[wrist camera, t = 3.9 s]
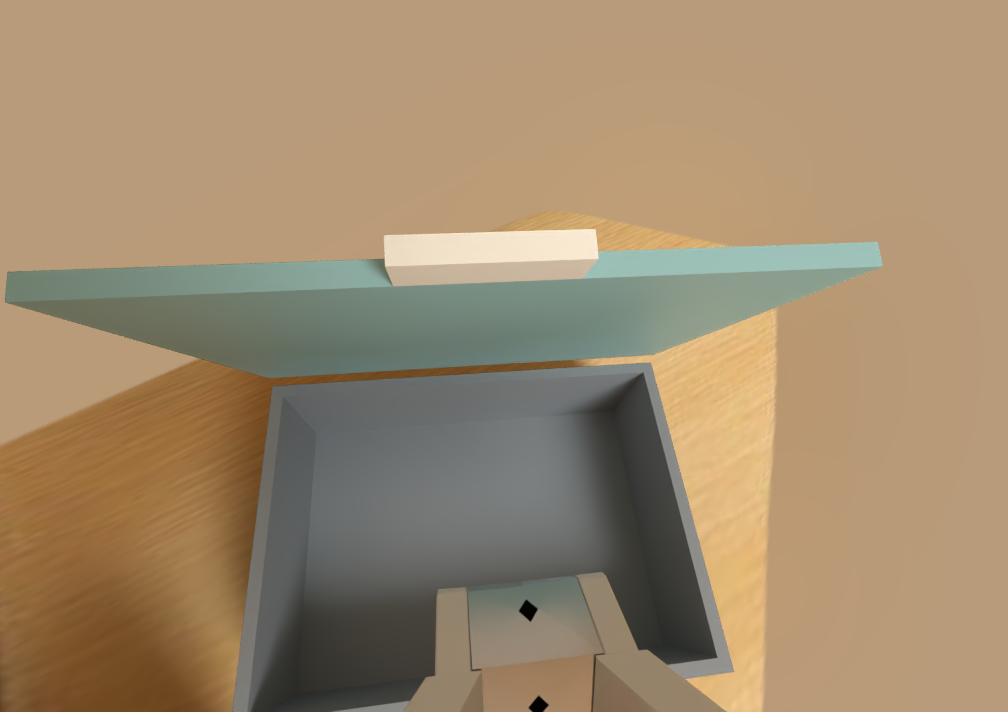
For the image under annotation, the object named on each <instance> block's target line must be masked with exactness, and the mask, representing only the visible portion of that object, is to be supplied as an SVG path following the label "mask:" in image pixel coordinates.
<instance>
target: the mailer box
mask: <svg viewBox="0 0 1008 712" xmlns="http://www.w3.org/2000/svg"><path fill="white" fill-rule="evenodd" d="M596 572H602V573H603V574H605V575H606V577H607V580H608V582H609V584H610V586H611V589H612V591H613V593H614V596H615V598H616V600H617V602H618V605H619V607H620V609H621V611H622V614H623V616H624V618H625V621H626V623H627V625H628V627H629V630H630V632H631V634H632V637H633V639H634V641H635V643H636V646H637V648H638V650H648V651H650V652H651V653H652V654H654V655H655V656H656V657H657V658H659V659H660V660H661V661H662V662H664V663H665V664H666V665H668V666H669V667H670V668H671V669H673V670H674V671H675V672H676V673H678V674H679V675H680V676H682V677H683V678H684V679H688V678H695V677H702V676H709V675H716V674H723V673H730V672H734V669H733V666H732V662H731V658H730V655H729V651H728V647H727V643H726V640H725V636H724V632H723V629H722V625H721V621H720V617H719V614H718V610H717V606H716V603H715V599H714V595H713V591H712V588H711V584H710V580H709V577H708V573H707V569H706V565H705V562H704V558H703V554H702V551H701V547H700V543H699V539H698V536H697V532H696V528H695V525H694V521H693V517H692V514H691V510H690V506H689V502H688V499H687V495H686V491H685V488H684V484H683V480H682V476H681V473H680V469H679V465H678V462H677V458H676V454H675V450H674V447H673V443H672V439H671V436H670V432H669V428H668V424H667V421H666V417H665V413H664V410H663V406H662V402H661V398H660V395H659V391H658V387H657V384H656V380H655V376H654V372H653V369H652V365H651V363H635V364H619V365H603V366H587V367H571V368H555V369H539V370H523V371H507V372H491V373H475V374H459V375H444V376H428V377H412V378H396V379H380V380H364V381H348V382H332V383H316V384H300V385H284V386H272V394H271V402H270V410H269V418H268V426H267V434H266V442H265V450H264V458H263V466H262V474H261V482H260V491H259V499H258V507H257V515H256V523H255V531H254V539H253V547H252V555H251V563H250V571H249V579H248V587H247V596H246V604H245V612H244V620H243V628H242V636H241V644H240V652H239V660H238V668H237V676H236V684H235V693H234V701H233V709H232V712H403V711H404V710H405V708H406V707H407V705H408V704H409V702H410V701H411V699H412V697H413V696H414V694H415V693H416V691H417V690H418V688H419V687H420V685H421V684H422V682H423V681H424V679H425V678H426V677H431V676H435V650H436V600H437V592H438V589H447V588H461V587H466V590H467V586H476V585H488V584H501V583H513V582H521V581H530V580H538V579H547V578H556V577H564V576H575V575H580V574H588V573H596ZM467 604H468V599H467ZM468 620H469V618H468Z"/></svg>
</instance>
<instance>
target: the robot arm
mask: <svg viewBox="0 0 1008 712" xmlns="http://www.w3.org/2000/svg"><path fill="white" fill-rule="evenodd" d="M467 599H468V604H467ZM468 618H469V620H468ZM403 712H726V711H725V710H724V709H722V708H721V707H720V706H718V705H717V704H716V703H715V702H713V701H712V700H711V699H710V698H708V697H707V696H706V695H704V694H703V693H702V692H701V691H699V690H698V689H697V688H696V687H694V686H693V685H692V684H690V683H689V682H688V681H687V680H685V679H684V678H683V677H682V676H680V675H679V674H678V673H676V672H675V671H674V670H673V669H671V668H670V667H669V666H668V665H666V664H665V663H664V662H662V661H661V660H660V659H659V658H657V657H656V656H655V655H654V654H652V653H651V652H650V651H648V650H638V648H637V646H636V643H635V641H634V639H633V637H632V634H631V632H630V630H629V627H628V625H627V623H626V621H625V618H624V616H623V614H622V611H621V609H620V607H619V605H618V602H617V600H616V598H615V596H614V593H613V591H612V589H611V586H610V584H609V582H608V580H607V577H606V575H605V574H603V573H602V572H596V573H588V574H580V575H575V576H564V577H556V578H547V579H538V580H530V581H521V582H513V583H501V584H488V585H476V586H467V590H466V587H461V588H447V589H438V592H437V600H436V650H435V676H431V677H426V678H425V679H424V681H423V682H422V684H421V685H420V687H419V688H418V690H417V691H416V693H415V694H414V696H413V697H412V699H411V701H410V702H409V704H408V705H407V707H406V708H405V710H404V711H403Z"/></svg>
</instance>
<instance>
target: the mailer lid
mask: <svg viewBox="0 0 1008 712" xmlns="http://www.w3.org/2000/svg"><path fill="white" fill-rule="evenodd" d="M384 254H385V259H369V260H368V259H367V260H338V261H308V262H281V263H253V264H252V263H250V264H221V265H195V266H194V265H193V266H165V267H164V266H163V267H134V268H107V269H106V268H104V269H75V270H49V271H47V270H46V271H18V272H8V273H7V284H6V295H5V302H6V303H9V304H13V305H16V306H20V307H23V308H26V309H30V310H34V311H37V312H41V313H44V314H47V315H51V316H54V317H58V318H61V319H65V320H68V321H72V322H75V323H79V324H82V325H85V326H89V327H93V328H96V329H99V330H103V331H106V332H110V333H113V334H117V335H120V336H124V337H127V338H131V339H134V340H138V341H141V342H145V343H148V344H151V345H155V346H159V347H162V348H165V349H169V350H172V351H176V352H179V353H183V354H186V355H190V356H193V357H196V358H200V359H203V360H207V361H210V362H214V363H217V364H221V365H224V366H228V367H231V368H235V369H238V370H241V371H245V372H248V373H252V374H255V375H259V376H262V377H266V378H282V377H298V376H315V375H331V374H348V373H364V372H381V371H397V370H414V369H430V368H447V367H463V366H479V365H496V364H512V363H529V362H545V361H562V360H578V359H595V358H611V357H628V356H644V355H654V354H657V353H659V352H662V351H665V350H667V349H670V348H672V347H675V346H678V345H680V344H683V343H685V342H688V341H691V340H693V339H696V338H698V337H701V336H703V335H706V334H709V333H711V332H714V331H716V330H719V329H722V328H724V327H727V326H729V325H732V324H735V323H737V322H740V321H742V320H745V319H748V318H750V317H753V316H755V315H758V314H761V313H763V312H766V311H768V310H771V309H774V308H776V307H779V306H781V305H784V304H787V303H789V302H792V301H794V300H797V299H800V298H802V297H805V296H807V295H810V294H812V293H815V292H818V291H820V290H823V289H826V288H828V287H831V286H833V285H836V284H838V283H841V282H844V281H846V280H849V279H851V278H854V277H856V276H859V275H862V274H864V273H867V272H870V271H872V270H875V269H877V268H880V267H882V266H883V265H882V260H881V255H880V251H879V246H878V242H866V243H835V244H805V245H776V246H747V247H717V248H688V249H659V250H630V251H600V252H598V247H597V238H596V229H582V230H548V231H513V232H480V233H445V234H410V235H409V234H408V235H384Z"/></svg>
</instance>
